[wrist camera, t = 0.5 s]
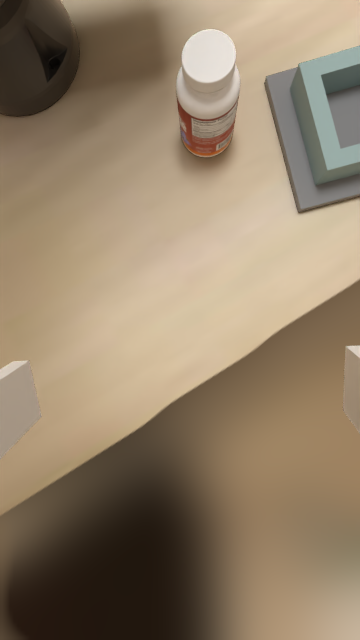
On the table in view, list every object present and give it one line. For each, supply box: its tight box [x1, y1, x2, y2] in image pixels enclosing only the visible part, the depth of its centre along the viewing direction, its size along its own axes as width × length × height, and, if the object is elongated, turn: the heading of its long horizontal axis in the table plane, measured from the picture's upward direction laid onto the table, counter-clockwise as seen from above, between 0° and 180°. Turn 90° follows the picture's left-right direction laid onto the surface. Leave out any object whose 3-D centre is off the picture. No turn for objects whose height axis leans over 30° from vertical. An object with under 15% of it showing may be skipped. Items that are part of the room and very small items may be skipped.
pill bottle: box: [176, 29, 240, 157], centre depth 32 cm, size 6×6×11 cm
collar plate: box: [264, 46, 360, 212], centre depth 34 cm, size 16×16×4 cm
